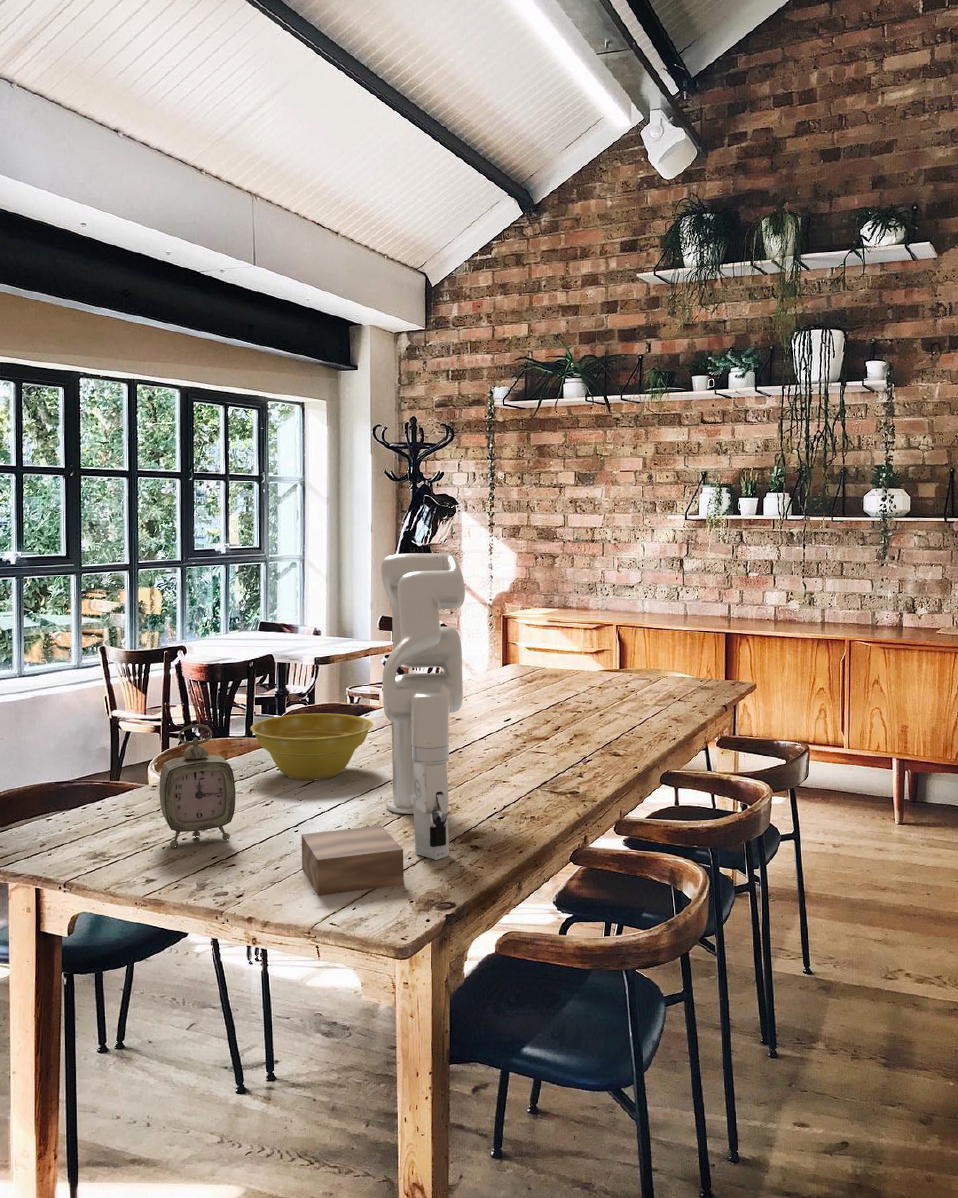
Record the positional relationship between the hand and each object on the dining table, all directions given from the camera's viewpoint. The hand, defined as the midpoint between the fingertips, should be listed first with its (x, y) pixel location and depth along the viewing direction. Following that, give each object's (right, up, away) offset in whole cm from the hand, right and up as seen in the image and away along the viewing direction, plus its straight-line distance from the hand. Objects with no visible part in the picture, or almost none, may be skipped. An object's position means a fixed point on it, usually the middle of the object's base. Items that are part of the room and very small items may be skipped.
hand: (431, 839), depth 205 cm
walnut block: (-15, -5, -11) cm, 19 cm away
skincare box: (0, -3, 0) cm, 3 cm away
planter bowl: (-35, +2, +67) cm, 75 cm away
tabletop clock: (-50, -3, +11) cm, 51 cm away
